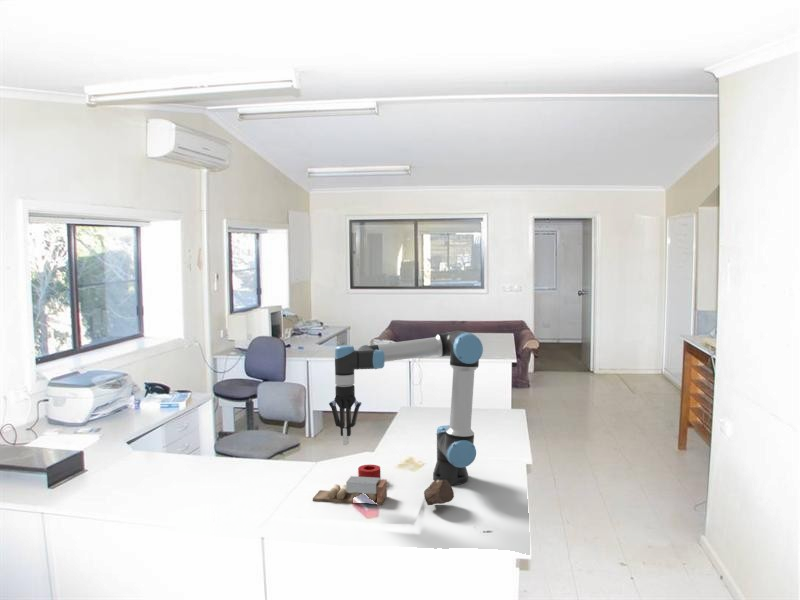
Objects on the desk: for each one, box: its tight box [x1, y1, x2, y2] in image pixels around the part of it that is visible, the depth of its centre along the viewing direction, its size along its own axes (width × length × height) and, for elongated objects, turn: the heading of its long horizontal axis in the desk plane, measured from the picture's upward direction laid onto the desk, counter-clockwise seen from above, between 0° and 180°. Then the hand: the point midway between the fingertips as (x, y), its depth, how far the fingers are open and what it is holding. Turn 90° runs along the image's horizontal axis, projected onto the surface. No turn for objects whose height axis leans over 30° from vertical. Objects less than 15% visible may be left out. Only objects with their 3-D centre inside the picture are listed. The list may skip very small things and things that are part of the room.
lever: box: [357, 464, 382, 481], centre depth 266 cm, size 18×9×7 cm, turn 18°
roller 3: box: [369, 494, 377, 501], centre depth 242 cm, size 8×3×3 cm, turn 169°
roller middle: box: [337, 484, 348, 500], centre depth 245 cm, size 8×3×3 cm, turn 169°
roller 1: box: [328, 484, 342, 499], centre depth 245 cm, size 8×3×3 cm, turn 169°
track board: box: [312, 478, 388, 506], centre depth 244 cm, size 28×9×7 cm, turn 79°
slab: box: [345, 475, 381, 494], centre depth 243 cm, size 12×7×4 cm, turn 79°
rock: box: [423, 480, 455, 506], centre depth 237 cm, size 12×10×10 cm
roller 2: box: [352, 493, 362, 499], centre depth 244 cm, size 8×3×3 cm
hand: (345, 443), depth 244 cm, fingers closed
